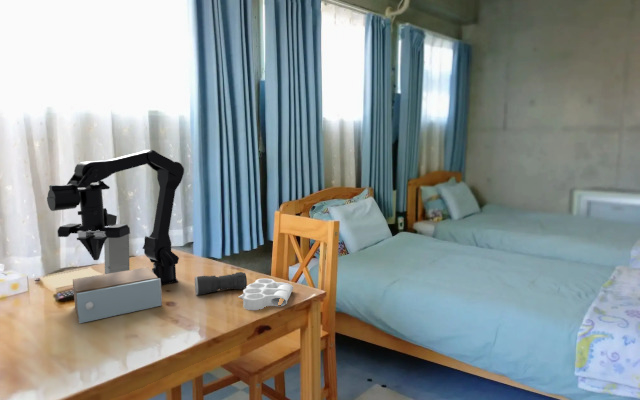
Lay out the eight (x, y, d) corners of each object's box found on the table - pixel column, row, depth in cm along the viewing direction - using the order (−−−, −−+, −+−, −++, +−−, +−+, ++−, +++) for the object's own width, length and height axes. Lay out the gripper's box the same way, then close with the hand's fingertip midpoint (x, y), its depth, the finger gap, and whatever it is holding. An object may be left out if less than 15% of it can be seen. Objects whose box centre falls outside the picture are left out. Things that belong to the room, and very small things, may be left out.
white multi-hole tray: (284, 312, 118) (231, 310, 119) (294, 289, 135) (248, 288, 137) (284, 300, 117) (231, 299, 118) (294, 278, 135) (248, 277, 136)
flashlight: (244, 285, 139) (244, 268, 138) (248, 290, 134) (247, 273, 133) (195, 291, 134) (194, 274, 133) (197, 297, 129) (196, 279, 128)
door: (161, 304, 123) (160, 278, 122) (163, 306, 121) (162, 280, 120) (79, 322, 111) (76, 293, 110) (80, 324, 110) (77, 295, 108)
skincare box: (104, 276, 149) (100, 230, 147) (126, 272, 153) (123, 228, 151) (109, 282, 143) (105, 235, 140) (132, 278, 147) (129, 232, 144)
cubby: (150, 292, 133) (148, 267, 132) (159, 304, 123) (157, 277, 122) (75, 306, 122) (72, 279, 121) (78, 321, 112) (76, 291, 111)
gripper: (138, 202, 130) (141, 253, 132) (80, 201, 132) (84, 252, 134) (116, 208, 119) (120, 263, 121) (53, 207, 121) (58, 262, 123)
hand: (96, 259), depth 125 cm, fingers closed
